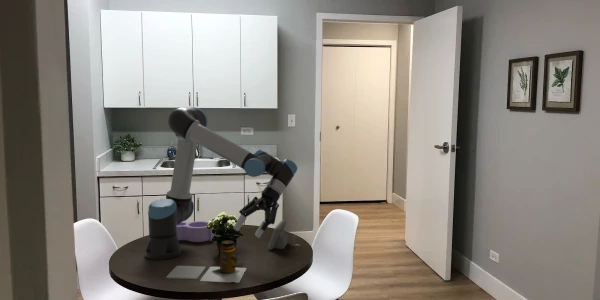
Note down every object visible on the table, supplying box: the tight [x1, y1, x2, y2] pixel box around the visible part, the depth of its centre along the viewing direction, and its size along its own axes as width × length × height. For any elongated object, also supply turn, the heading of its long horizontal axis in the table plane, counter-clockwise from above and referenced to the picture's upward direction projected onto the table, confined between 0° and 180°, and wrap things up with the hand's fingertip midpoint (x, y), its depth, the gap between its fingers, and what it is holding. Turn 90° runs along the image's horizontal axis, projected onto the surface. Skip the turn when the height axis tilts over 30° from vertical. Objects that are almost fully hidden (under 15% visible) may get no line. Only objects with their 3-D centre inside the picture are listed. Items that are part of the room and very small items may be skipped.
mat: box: [165, 265, 207, 280], centre depth 185 cm, size 12×12×1 cm
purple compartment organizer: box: [177, 220, 216, 243], centre depth 231 cm, size 20×12×7 cm, turn 89°
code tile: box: [199, 266, 248, 284], centre depth 184 cm, size 15×15×1 cm
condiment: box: [212, 239, 239, 276], centre depth 186 cm, size 7×8×12 cm
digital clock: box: [267, 219, 289, 251], centre depth 220 cm, size 16×9×11 cm, turn 158°
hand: (245, 232), depth 192 cm, fingers open, 13 cm apart
